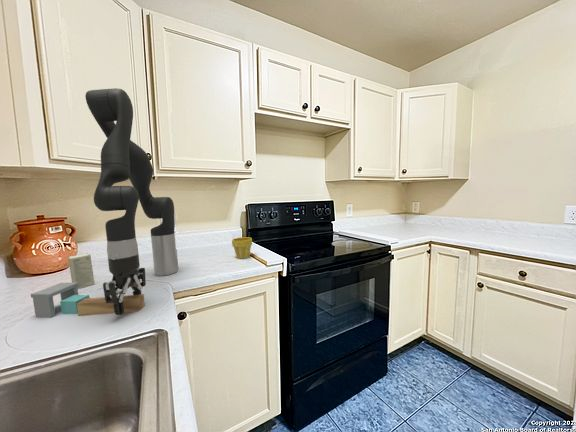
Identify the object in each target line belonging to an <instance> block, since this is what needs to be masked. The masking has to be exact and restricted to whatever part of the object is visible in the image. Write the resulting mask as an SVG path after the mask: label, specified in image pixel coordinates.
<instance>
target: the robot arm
mask: <svg viewBox="0 0 576 432" xmlns="http://www.w3.org/2000/svg"><path fill="white" fill-rule="evenodd" d="M84 96H85V101H86V104H87V107H88V109H89V111H90V113H91V115H92V117H93V118H94V120H95V121H96V123H97V125H98V126H99V127H100V130H101V131H102V132H103V134H104V136H105V137H106V140H105V142H104V143H103V145H102V148H101V150H100V176H99V178H98V179H99V180H98V182H97V185H96V188H95V190H94V194H93V203H94V205H95V207H96V208H97V209H98V210H100V211H102V212H112V211H113V212H114V211H116V212H117V211H125V213H124V215H123V216H121V217H116V218H113V219H109V220H107V221H106V222H105V234H106V254H107V263H108V269H109V273H111V274H112V278H111V280H110V281H108V282H103V284H102V287H103V289H102V290H103V294H104V295H103V296H104V297H105V301H106V303H113V305H114V313H113V314H115V315H117V316H122V315H124V314H125V312H124V306H123V301H122V300H123V296H125V294H126V293H127V291H128V289H129V288H130V289H131V290H132V295H141V294H142V290H143V287H146V285H147V281H146V279H147V278H146V268H145V267H141V266H140V256H139V246H138V241H137V237H136V234H137V233H136V223H135V222H136V221H135V220H136V213H137V209H138V204H139V203H140V206H141V208H142V211H143V213H144V214H145V216H146V217H147V218H149V219H152V220H157V219H158V220H162V221H161V223H160V224H158V225H157V226H154V227H152V228H151V229H150V239H151V247H152V248H151V249H152V259H153V260H152V261H153V271H154V276H158V277H160V276H161V277H162V276H163V277H164V276H169V275H173V274H175V273H177V272H178V271H179V263H178V262H179V260H178V259H179V258H178V249H177V245H176V235H175V233H176V232H175V227H176V226H175V225H176V223H175V222H176V221H175V220H176V219H175V205H174V201H173V199H172V198H171V197H169V196H158V197H157V196H156V197H154V196H153V195H152V193H151V190H150V186H151V182H152V179H153V176H154V167H153V165H152V163H151V160H150V158H149V156H148V153H147V152H146V151H145V150H144V149H143V148H142V147H141V146H140V145H138V144H137V143H135V142H134V141H133V140H131V136H132V128H133V121H134V107H133V102H132V101H131V98H130V96H129V95H128V93H127V92H126V91H125V90H124V89H122V88H118V87H117V88H113V87H112V88H100V89H92V90H91V89H90V90H88V91H86V92H85V95H84ZM128 180H129V181H130V183H131V185H115V184H118V183H122V182H125V181H128ZM117 296H119V298H117ZM110 297H112V298H110Z"/></svg>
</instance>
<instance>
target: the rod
mask: <svg viewBox="0 0 576 432" xmlns="http://www.w3.org/2000/svg"><path fill="white" fill-rule="evenodd" d="M110 298H112V297H111V296H110ZM117 298H119V295H117ZM122 301H123V306H124V313H129V312H130V313H131V312H133V313H134V312H140V311H142V309H143V308H144V307H145V306H146V303H145V294H143V293H141V295H133V294H129V295H124V296H123V300H122ZM77 309H78V314H77V316H78V317H81V316H82V317H84V316H93V315H95V316H96V315H107V314H115V313H114V305H113V303H106V301H105V296H101V297H89V298H86V299H84V300H82V301H80V302H79V303H77Z"/></svg>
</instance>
